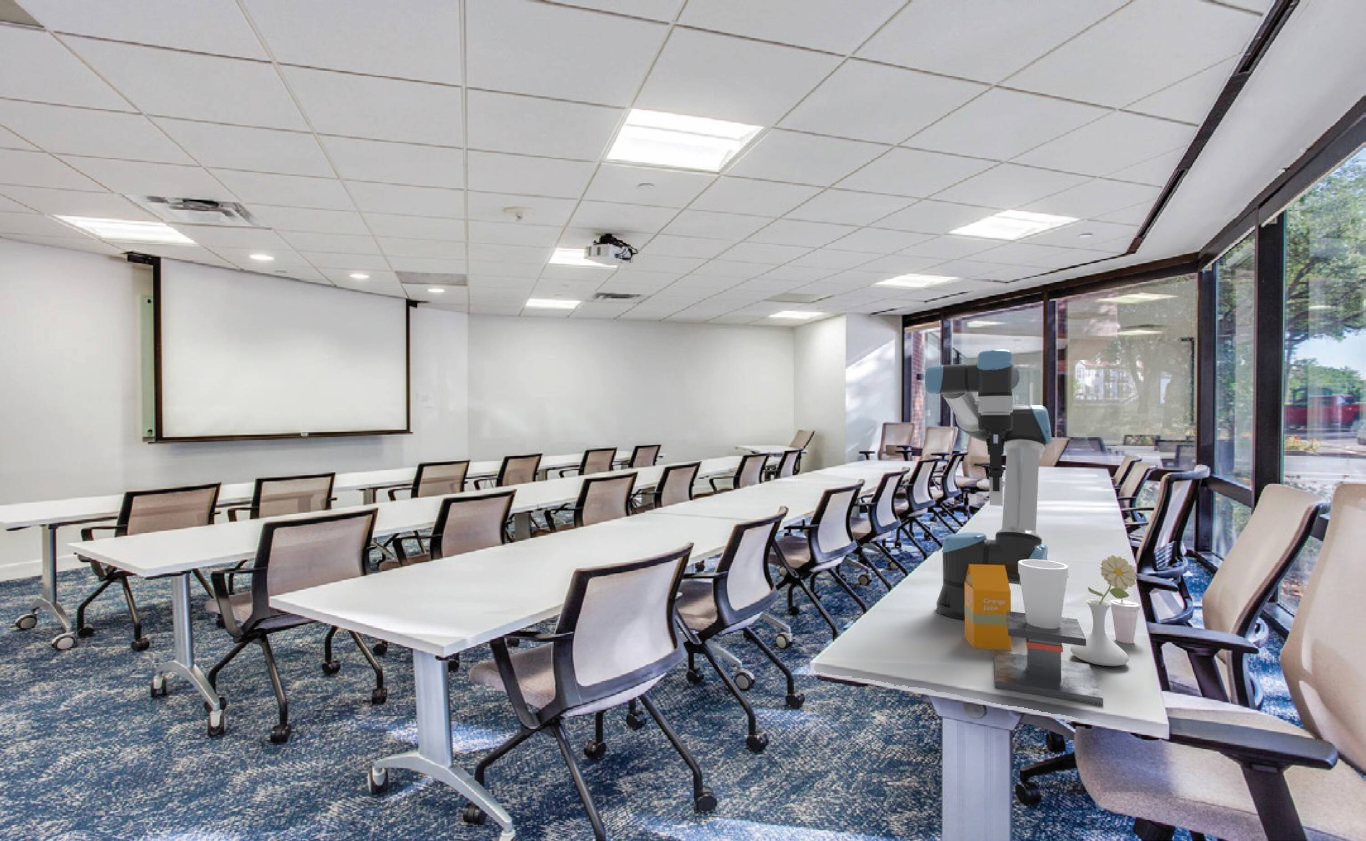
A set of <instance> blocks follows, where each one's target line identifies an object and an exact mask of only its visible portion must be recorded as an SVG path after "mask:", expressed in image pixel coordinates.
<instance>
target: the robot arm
mask: <svg viewBox="0 0 1366 841" xmlns="http://www.w3.org/2000/svg"><path fill="white" fill-rule="evenodd" d="M924 373H925V374H924V385H925V390H926V392H928V393H929V394H936V395H939V394H941V395H942V397H943V399H944V400H945V401H946V403H947V404H948V406H949V407H950V409H951V410H952V412H953V413H954V415H955V421H956V424H957V426H958V428H960V429H961V430H962V431H963V432H964V433H965V434H967V435H969V436H970V437H972V438H974V439H976V440H978V441H981V442H985V443H986V446H987V454H988V455H989V465H988V468H989V469H988V471H989V472H986V478H988V483H989V485H988V487H989V489H988V490H989V491H988V492H989V493H988V494H989V497H988V498H989V506H997V507H998V506H1001V507H1002V521H1001V524H1002V525H1001V529H999V530H998V531H996V532H995V537H994V538H995V539H988V538H987V535H986V533H983V532H959V533H952V534H948V535H946V536H945V537H944V538H943V540H942V550H941V552H942V586H941V589H940V592H939V595H938V598H937V601H936V611H937V612H938V613H939V614H941V615H944V616H945V617H948V618H952V619H957V620H963V621H965V579H966V575H967V570H968V566H969V564H985V565H1005V568H1006V573H1007V577H1008V582H1009V584H1012V585H1018V586H1021V582H1020V575H1019V573H1018V562H1019V561H1020V560H1032V559H1035V560H1047V561H1048V554H1049V552H1048V551H1049V550H1048V546H1047V545H1045V543H1042V541H1043V539H1042V537H1041V536H1040V535H1039V534H1037V518H1038V517H1037V516H1038V515H1037V514H1038V512H1037V511H1038V491H1039V490H1038V489H1039V468H1040V455H1041V454H1043V453H1044V452H1045V451H1046V446H1047V445H1050V444H1052V442H1053V441H1052V440H1053V439H1052V438H1053V437H1052V430H1051V422H1050V417H1049V412H1048V409H1047V408H1046V406H1043V405H1042V404H1041V405H1039V404H1038V405H1037V404H1036V405H1035V404H1034V405H1033V404H1026V405H1024V404H1023V405H1020V404H1019V405H1014V399H1013V398H1014V396H1013V390H1014V389H1016V387H1017V386H1018V385H1019V383H1020V381H1021V380H1020V379H1021V375H1020V371H1019V369H1018V368H1017V367H1016V366H1015V365H1014V360H1013V353H1012V352H1011V351H1010V350H1008V349H990V350H989V349H988V350H983V351H981V352H979V353H978V354H977V363H963V364H959V363H958V364H940V365H931V366H928V367H927V369H926V371H925V372H924ZM975 393H977V395H976V394H975ZM1004 452H1005V453H1006V457H1005V468H1003V455H1004ZM1004 473H1005V474H1004ZM1003 475H1004V479H1003ZM1003 480H1004V481H1003ZM1003 483H1004V486H1003ZM1003 487H1004V488H1003ZM1003 489H1004V490H1003Z"/></svg>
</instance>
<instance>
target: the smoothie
mask: <svg viewBox="0 0 1366 841" xmlns="http://www.w3.org/2000/svg"><path fill="white" fill-rule="evenodd" d="M1109 603H1111V604H1112V605H1111V606H1110V608H1111V613H1112V614H1111V615H1112V621H1113V628H1114V634H1115V635H1114V636H1115V640H1116V641H1117V642H1120V643H1123V644H1134V643H1135V636H1136V630H1137V622H1138V616H1139V611H1140V610H1141V605H1140V604H1139V603H1138V602H1135V601H1132V600H1125V599H1124V598H1121V599H1111V600H1109Z"/></svg>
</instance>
